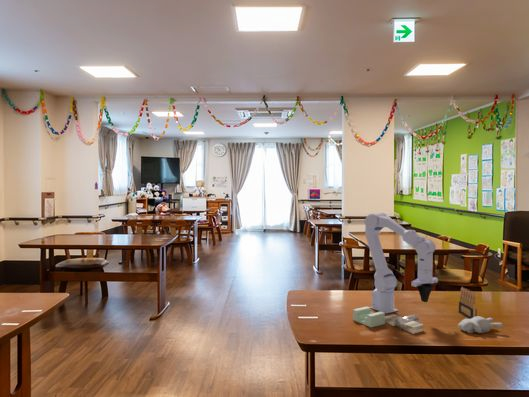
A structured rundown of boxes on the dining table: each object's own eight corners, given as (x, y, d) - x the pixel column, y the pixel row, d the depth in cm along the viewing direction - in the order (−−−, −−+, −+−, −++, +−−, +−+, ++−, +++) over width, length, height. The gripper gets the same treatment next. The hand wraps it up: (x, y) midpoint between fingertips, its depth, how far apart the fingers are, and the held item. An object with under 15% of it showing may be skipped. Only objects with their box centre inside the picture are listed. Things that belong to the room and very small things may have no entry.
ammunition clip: (476, 320, 163) (477, 292, 163) (472, 320, 163) (473, 292, 162) (462, 312, 174) (463, 285, 173) (458, 312, 174) (458, 285, 173)
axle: (395, 325, 156) (397, 316, 155) (410, 321, 161) (411, 312, 160) (403, 330, 153) (405, 321, 152) (418, 326, 158) (420, 317, 157)
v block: (352, 320, 163) (353, 309, 163) (366, 316, 167) (366, 306, 167) (370, 327, 155) (371, 316, 155) (384, 323, 159) (384, 313, 159)
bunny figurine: (453, 317, 156) (488, 311, 157) (454, 329, 156) (489, 324, 157) (468, 325, 146) (505, 319, 148) (469, 339, 146) (506, 333, 148)
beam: (384, 322, 160) (384, 316, 160) (394, 320, 163) (394, 314, 163) (413, 333, 148) (413, 327, 148) (423, 330, 151) (423, 324, 151)
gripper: (422, 273, 155) (421, 306, 155) (444, 269, 162) (443, 301, 163) (407, 269, 161) (406, 302, 161) (429, 265, 168) (429, 297, 169)
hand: (424, 301), depth 162 cm, fingers closed
